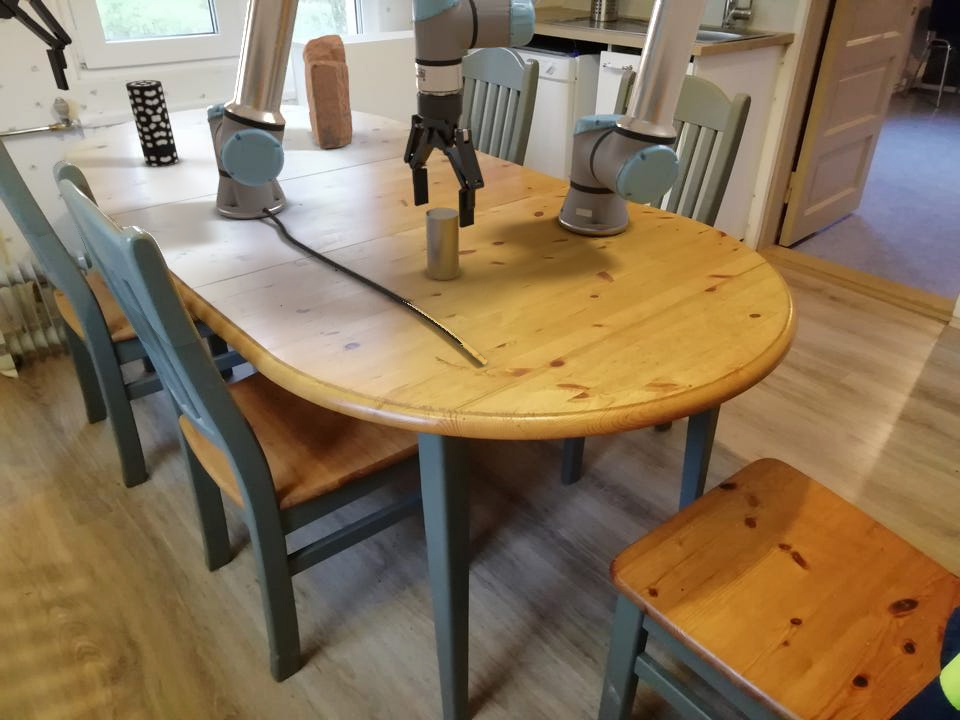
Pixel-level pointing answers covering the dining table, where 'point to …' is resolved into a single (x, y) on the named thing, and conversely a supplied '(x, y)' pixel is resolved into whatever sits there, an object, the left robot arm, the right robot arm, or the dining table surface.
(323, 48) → the stone
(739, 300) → the dining table surface
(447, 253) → the tin
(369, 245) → the dining table surface
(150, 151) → the black white spotted cylinder
